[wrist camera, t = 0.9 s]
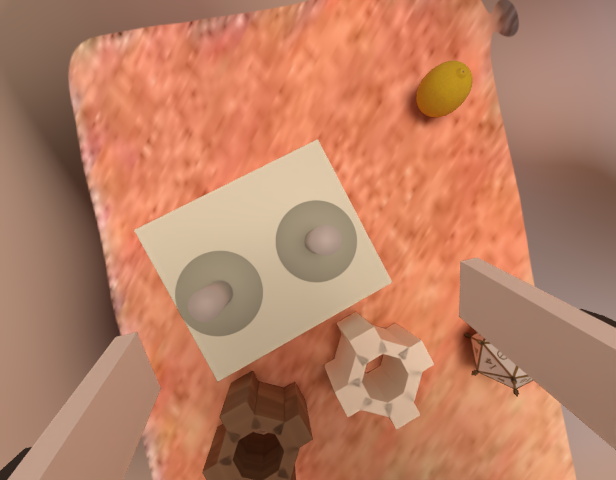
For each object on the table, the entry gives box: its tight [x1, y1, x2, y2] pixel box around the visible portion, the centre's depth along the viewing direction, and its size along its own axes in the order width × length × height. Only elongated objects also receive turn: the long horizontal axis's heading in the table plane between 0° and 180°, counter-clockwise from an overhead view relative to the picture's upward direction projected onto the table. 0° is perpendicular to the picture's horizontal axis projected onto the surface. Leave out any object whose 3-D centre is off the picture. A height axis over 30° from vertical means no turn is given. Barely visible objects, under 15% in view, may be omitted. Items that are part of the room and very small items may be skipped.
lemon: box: [416, 61, 472, 117], centre depth 35 cm, size 6×6×8 cm
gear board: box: [134, 139, 392, 381], centre depth 32 cm, size 20×24×9 cm
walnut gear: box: [203, 371, 313, 480], centre depth 32 cm, size 11×11×7 cm
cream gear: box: [324, 312, 434, 429], centre depth 34 cm, size 11×11×7 cm
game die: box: [464, 332, 533, 396], centre depth 35 cm, size 9×8×10 cm
